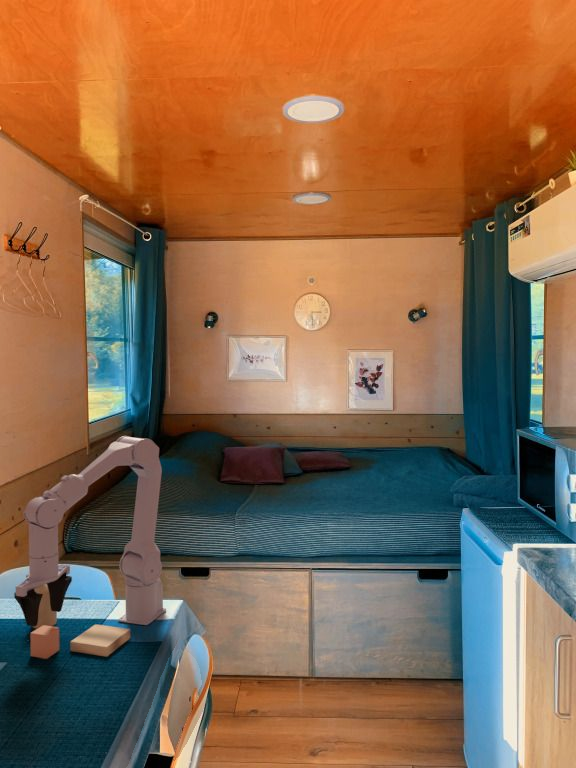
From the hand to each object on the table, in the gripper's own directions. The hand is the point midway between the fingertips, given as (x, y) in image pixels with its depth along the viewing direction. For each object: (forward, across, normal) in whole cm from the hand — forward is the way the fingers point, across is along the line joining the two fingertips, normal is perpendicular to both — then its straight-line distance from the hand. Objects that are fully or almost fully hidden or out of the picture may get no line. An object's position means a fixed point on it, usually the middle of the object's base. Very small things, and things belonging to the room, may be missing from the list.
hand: (44, 617), depth 128 cm
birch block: (+8, -7, +9) cm, 14 cm away
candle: (+8, -12, -10) cm, 18 cm away
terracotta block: (+8, 0, 0) cm, 8 cm away
